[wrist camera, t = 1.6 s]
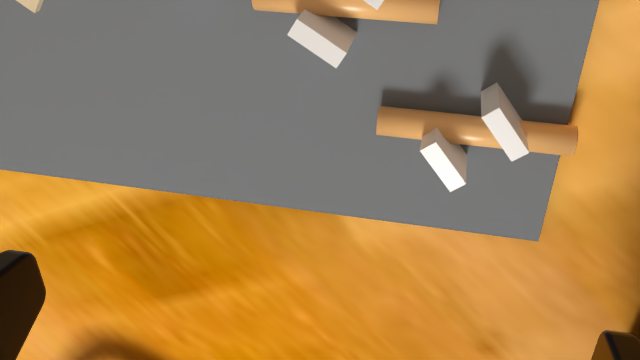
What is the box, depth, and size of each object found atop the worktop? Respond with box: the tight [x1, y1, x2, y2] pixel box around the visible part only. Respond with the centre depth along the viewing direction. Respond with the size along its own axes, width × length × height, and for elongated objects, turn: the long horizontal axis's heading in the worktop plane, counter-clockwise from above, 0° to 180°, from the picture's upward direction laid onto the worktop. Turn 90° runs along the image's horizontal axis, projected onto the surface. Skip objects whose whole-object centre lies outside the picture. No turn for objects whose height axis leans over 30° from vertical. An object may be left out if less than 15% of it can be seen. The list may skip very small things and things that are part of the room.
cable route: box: [252, 0, 578, 192], centre depth 19 cm, size 16×5×2 cm, turn 56°
